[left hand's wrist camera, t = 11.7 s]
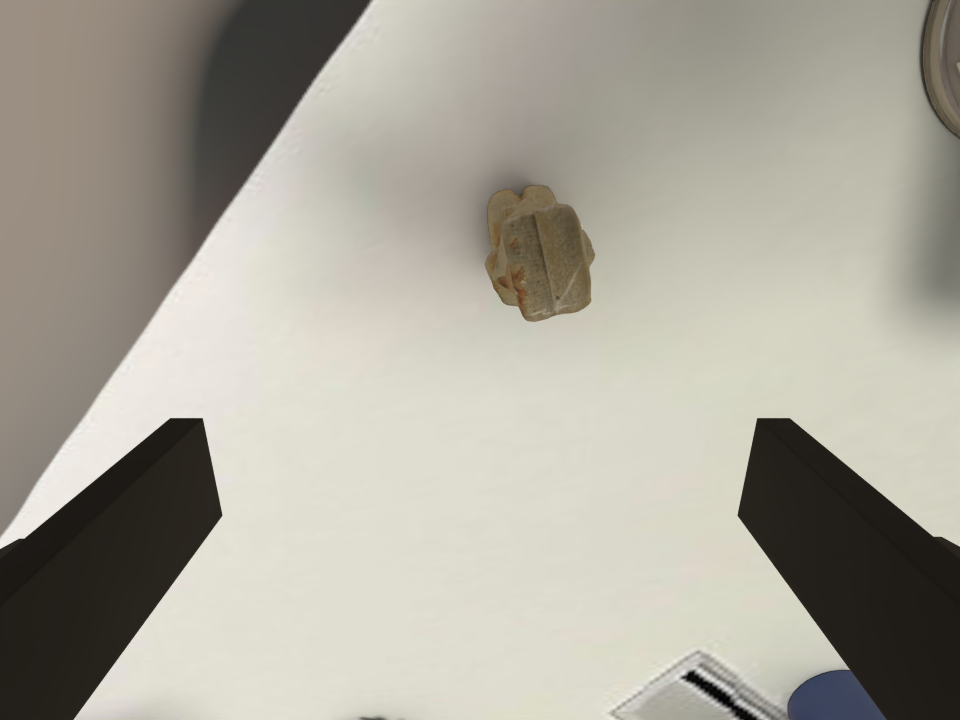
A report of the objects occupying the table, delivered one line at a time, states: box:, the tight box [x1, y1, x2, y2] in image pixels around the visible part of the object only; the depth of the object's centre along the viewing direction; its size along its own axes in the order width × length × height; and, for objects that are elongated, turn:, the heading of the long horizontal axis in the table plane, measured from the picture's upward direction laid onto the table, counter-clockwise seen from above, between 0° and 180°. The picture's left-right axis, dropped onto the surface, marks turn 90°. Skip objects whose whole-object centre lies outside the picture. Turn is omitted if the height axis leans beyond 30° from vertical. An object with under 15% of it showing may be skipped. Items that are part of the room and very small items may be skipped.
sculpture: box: [485, 185, 595, 322], centre depth 30 cm, size 6×7×15 cm
